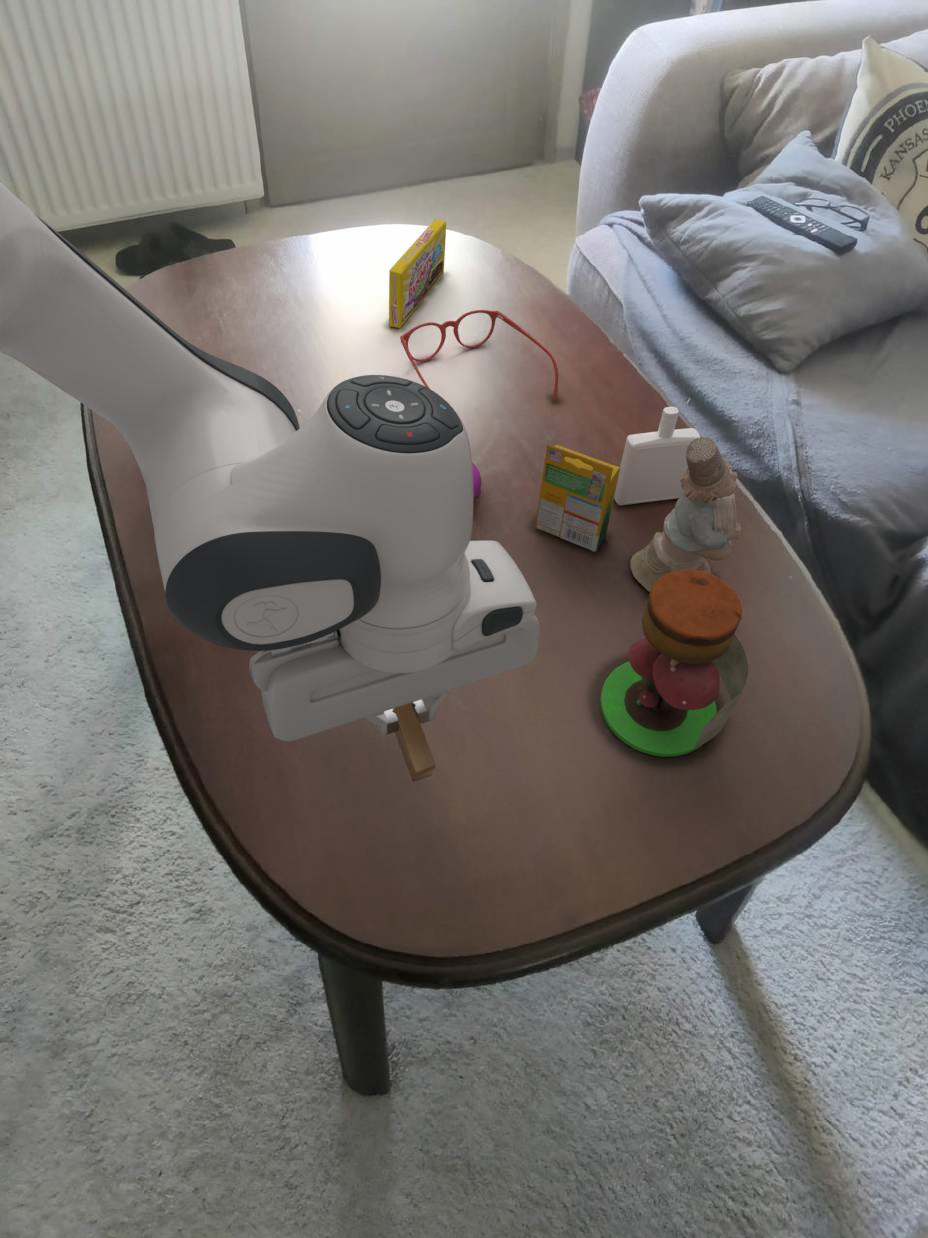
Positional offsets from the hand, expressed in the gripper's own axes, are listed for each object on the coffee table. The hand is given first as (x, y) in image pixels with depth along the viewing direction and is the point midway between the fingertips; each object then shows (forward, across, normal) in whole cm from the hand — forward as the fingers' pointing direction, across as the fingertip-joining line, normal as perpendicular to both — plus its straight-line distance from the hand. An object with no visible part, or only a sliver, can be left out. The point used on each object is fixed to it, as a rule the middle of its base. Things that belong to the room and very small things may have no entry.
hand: (404, 721), depth 67 cm
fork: (0, 0, +5) cm, 5 cm away
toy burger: (+9, +24, -2) cm, 26 cm away
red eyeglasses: (+9, +28, +51) cm, 59 cm away
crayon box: (+9, +27, +22) cm, 36 cm away
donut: (+9, +15, +32) cm, 37 cm away
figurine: (+9, +34, +12) cm, 37 cm away
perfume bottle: (+9, +38, +24) cm, 46 cm away
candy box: (+9, +28, +72) cm, 78 cm away
